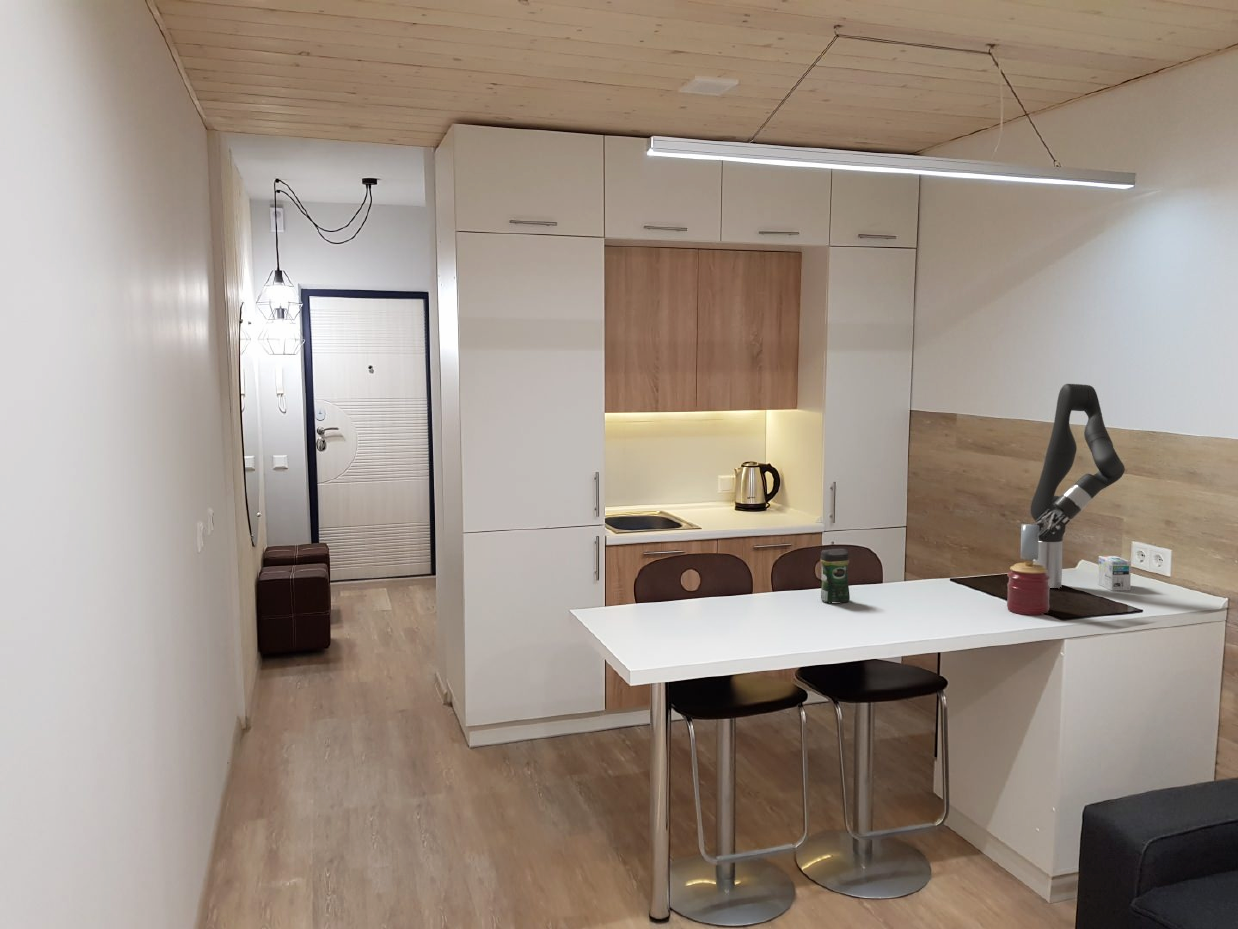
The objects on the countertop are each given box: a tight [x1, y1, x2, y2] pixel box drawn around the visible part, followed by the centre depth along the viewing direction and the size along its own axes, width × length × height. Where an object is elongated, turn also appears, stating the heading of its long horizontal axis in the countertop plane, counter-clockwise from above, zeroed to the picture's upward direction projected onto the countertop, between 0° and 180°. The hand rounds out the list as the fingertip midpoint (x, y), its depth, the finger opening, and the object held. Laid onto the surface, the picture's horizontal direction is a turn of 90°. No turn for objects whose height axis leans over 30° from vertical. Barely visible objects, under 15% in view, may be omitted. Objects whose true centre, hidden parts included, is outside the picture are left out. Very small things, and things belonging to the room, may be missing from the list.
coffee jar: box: [820, 548, 851, 604], centre depth 326 cm, size 10×8×19 cm
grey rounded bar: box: [1020, 523, 1039, 560], centre depth 306 cm, size 5×5×11 cm
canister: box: [1006, 559, 1051, 616], centre depth 307 cm, size 13×13×18 cm
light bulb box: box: [1097, 555, 1132, 592], centre depth 336 cm, size 11×7×11 cm, turn 179°
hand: (1035, 536), depth 306 cm, fingers open, 8 cm apart
